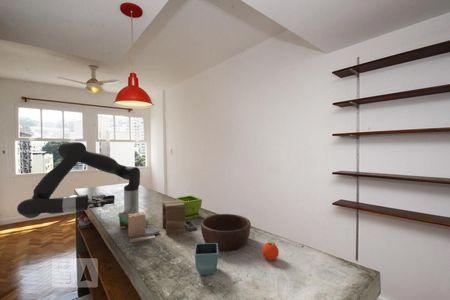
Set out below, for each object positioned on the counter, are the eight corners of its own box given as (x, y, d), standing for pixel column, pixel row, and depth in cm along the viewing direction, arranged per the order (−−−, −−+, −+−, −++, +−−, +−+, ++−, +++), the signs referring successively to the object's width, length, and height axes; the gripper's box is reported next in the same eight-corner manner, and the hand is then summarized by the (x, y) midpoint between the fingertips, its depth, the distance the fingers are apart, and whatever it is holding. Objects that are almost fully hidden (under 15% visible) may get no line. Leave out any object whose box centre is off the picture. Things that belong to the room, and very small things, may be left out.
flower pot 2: (195, 265, 86) (195, 243, 85) (217, 264, 86) (217, 242, 86) (194, 278, 77) (194, 254, 77) (218, 277, 78) (218, 253, 77)
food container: (128, 231, 119) (127, 213, 118) (118, 230, 120) (118, 213, 120) (140, 223, 131) (140, 207, 130) (132, 222, 132) (132, 206, 132)
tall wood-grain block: (128, 233, 114) (128, 213, 114) (157, 228, 121) (157, 209, 121) (128, 238, 108) (128, 217, 108) (159, 233, 115) (159, 213, 115)
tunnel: (162, 227, 125) (162, 201, 125) (179, 224, 129) (179, 199, 129) (166, 235, 114) (166, 206, 114) (184, 231, 119) (184, 204, 118)
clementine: (267, 252, 96) (267, 237, 96) (282, 257, 92) (282, 241, 92) (259, 259, 90) (259, 243, 90) (274, 265, 86) (274, 248, 85)
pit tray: (182, 223, 130) (182, 221, 130) (190, 222, 133) (190, 220, 132) (188, 231, 120) (188, 228, 120) (196, 229, 122) (196, 226, 122)
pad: (128, 232, 118) (128, 231, 118) (151, 228, 123) (151, 228, 123) (130, 242, 105) (130, 242, 105) (155, 237, 111) (155, 237, 111)
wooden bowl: (255, 235, 114) (255, 216, 114) (243, 258, 91) (243, 235, 91) (212, 229, 123) (212, 211, 122) (191, 249, 99) (191, 227, 99)
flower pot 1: (184, 222, 133) (184, 202, 133) (173, 216, 144) (173, 197, 144) (202, 217, 143) (202, 198, 142) (191, 212, 153) (191, 194, 153)
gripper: (72, 199, 94) (114, 195, 101) (78, 192, 107) (114, 188, 114) (73, 216, 94) (114, 210, 102) (78, 207, 107) (114, 202, 114)
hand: (114, 199), depth 108 cm, fingers open, 8 cm apart
